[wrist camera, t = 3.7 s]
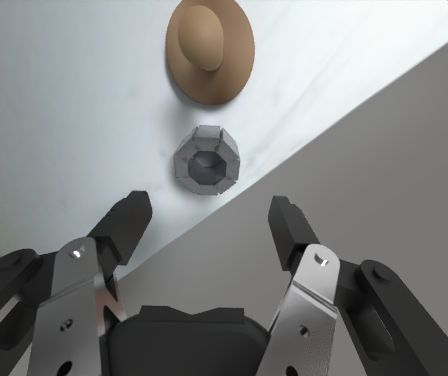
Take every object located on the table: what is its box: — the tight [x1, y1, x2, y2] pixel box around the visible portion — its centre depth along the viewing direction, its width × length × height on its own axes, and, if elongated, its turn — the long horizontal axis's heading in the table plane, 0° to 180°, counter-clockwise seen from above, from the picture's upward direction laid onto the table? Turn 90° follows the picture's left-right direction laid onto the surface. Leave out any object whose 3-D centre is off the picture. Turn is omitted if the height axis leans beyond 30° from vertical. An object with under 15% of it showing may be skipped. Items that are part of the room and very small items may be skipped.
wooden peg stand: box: [166, 0, 255, 105], centre depth 10 cm, size 7×7×8 cm
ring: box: [174, 125, 240, 195], centre depth 17 cm, size 6×6×4 cm
